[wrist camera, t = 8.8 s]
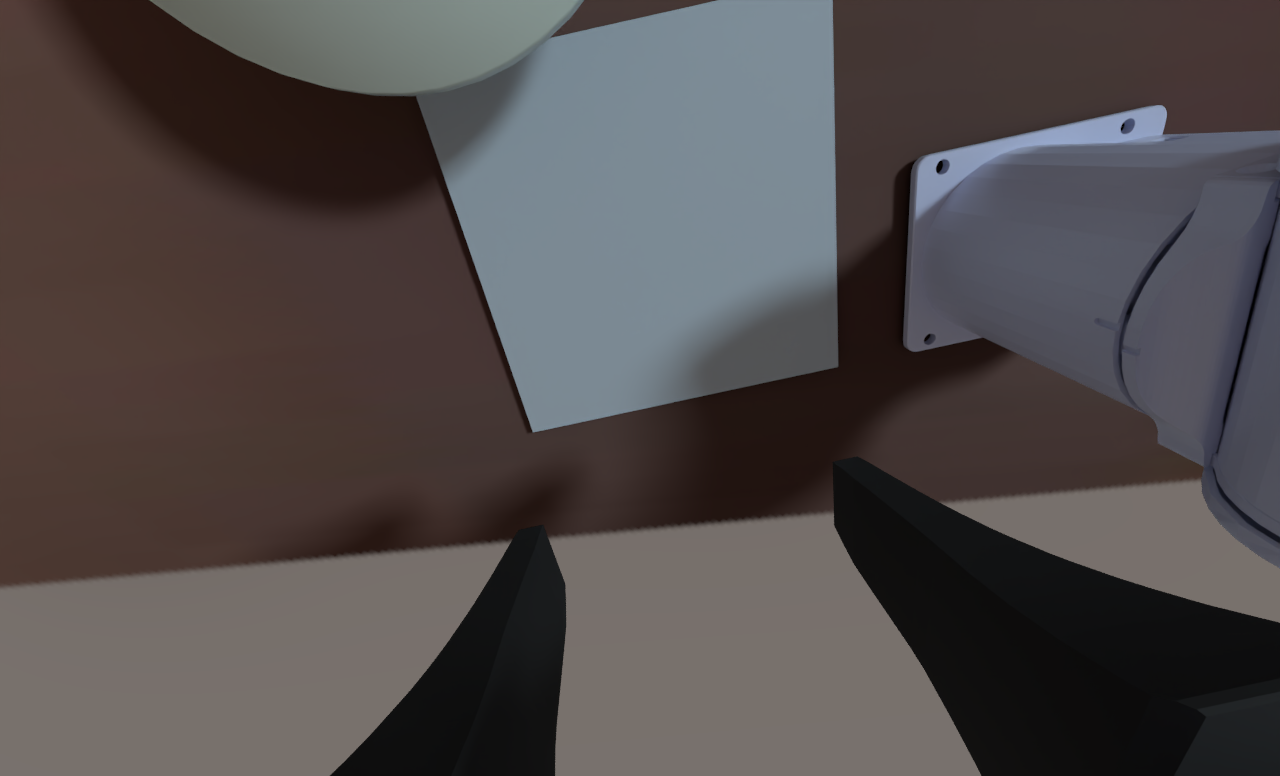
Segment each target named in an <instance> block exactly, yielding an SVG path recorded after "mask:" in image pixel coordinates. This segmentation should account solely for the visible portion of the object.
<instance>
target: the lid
mask: <svg viewBox="0 0 1280 776" xmlns="http://www.w3.org/2000/svg"><path fill="white" fill-rule="evenodd" d="M150 1H151V2H153V3H154V4H155V5H157V6H158V7H160V8H161V9H163V10H164V11H165V12H167V13H168V14H170V15H171V16H173V17H174V18H176V19H177V20H178V21H180V22H181V23H183V24H184V25H186V26H187V27H188V28H190V29H191V30H193V31H194V32H196V33H198V34H200V35H201V36H203V37H205V38H207V39H209V40H210V41H212V42H214V43H216V44H218V45H219V46H221V47H223V48H225V49H227V50H228V51H230V52H232V53H234V54H235V55H237V56H239V57H242V58H244V59H247V60H249V61H251V62H254V63H256V64H258V65H261V66H263V67H265V68H268V69H270V70H272V71H275V72H277V73H280V74H282V75H286V76H289V77H293V78H296V79H300V80H303V81H307V82H310V83H314V84H317V85H320V86H324V87H328V88H332V89H336V90H341V91H347V92H354V93H361V94H367V95H374V96H418V95H425V94H432V93H439V92H446V91H451V90H454V89H457V88H460V87H463V86H467V85H470V84H473V83H476V82H480V81H482V80H484V79H487V78H489V77H491V76H493V75H495V74H497V73H499V72H501V71H503V70H505V69H507V68H509V67H511V66H513V65H514V64H516V63H517V62H519V61H520V60H521V59H523V58H524V57H526V56H527V55H529V54H530V53H531V52H533V51H534V50H536V49H537V48H538V47H540V46H541V45H543V44H544V43H545V42H546V41H547V40H548V39H549V38H550V37H551V36H552V35H553V34H554V33H555V32H556V31H557V30H558V29H559V28H560V27H561V26H562V25H564V24H565V23H566V22H567V21H568V20H569V19H570V18H571V17H572V15H573V14H574V13H575V11H576V10H577V9H578V8H579V6H580V5H581V4H582V2H583V1H584V0H150Z"/></svg>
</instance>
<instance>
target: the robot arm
mask: <svg viewBox="0 0 1280 776" xmlns="http://www.w3.org/2000/svg"><path fill="white" fill-rule="evenodd" d="M1166 117H1167V111H1166V109H1165V108H1164V107H1163V106H1147V107H1143V108H1138V109H1134V110H1129V111H1125V112H1120V113H1115V114H1111V115H1106V116H1102V117H1097V118H1093V119H1088V120H1084V121H1079V122H1074V123H1070V124H1065V125H1061V126H1056V127H1052V128H1047V129H1043V130H1038V131H1033V132H1029V133H1024V134H1020V135H1015V136H1011V137H1006V138H1001V139H997V140H992V141H988V142H983V143H979V144H974V145H970V146H965V147H960V148H956V149H951V150H947V151H942V152H938V153H933V154H929V155H924V156H922V157H920V158H919V159H918V160H917V161H915V163H914V165H913V167H912V171H911V185H910V206H909V226H908V247H907V267H906V288H905V309H904V329H903V345H904V346H905V348H907V349H908V350H910V351H912V352H918V351H923V350H927V349H932V348H937V347H941V346H946V345H951V344H955V343H960V342H965V341H969V340H974V339H979V338H985V339H987V340H989V341H991V342H994V343H996V344H998V345H1000V346H1002V347H1004V348H1006V349H1008V350H1011V351H1013V352H1015V353H1017V354H1019V355H1021V356H1023V357H1025V358H1028V359H1030V360H1032V361H1034V362H1036V363H1038V364H1040V365H1042V366H1045V367H1047V368H1049V369H1051V370H1053V371H1055V372H1057V373H1059V374H1062V375H1064V376H1066V377H1068V378H1070V379H1072V380H1074V381H1076V382H1079V383H1081V384H1083V385H1085V386H1087V387H1089V388H1091V389H1093V390H1095V391H1098V392H1100V393H1102V394H1104V395H1106V396H1108V397H1110V398H1112V399H1115V400H1117V401H1119V402H1121V403H1123V404H1125V405H1127V406H1129V407H1132V408H1134V409H1136V410H1138V411H1140V412H1142V413H1144V414H1147V415H1149V416H1150V417H1151V418H1152V419H1153V420H1154V421H1155V423H1156V425H1157V429H1158V443H1159V444H1161V445H1163V446H1165V447H1167V448H1168V449H1170V450H1172V451H1174V452H1176V453H1178V454H1180V455H1182V456H1184V457H1186V458H1188V459H1190V460H1192V461H1194V462H1196V463H1198V464H1200V465H1202V466H1204V471H1203V475H1202V479H1201V482H1202V493H1203V496H1204V499H1205V501H1206V503H1207V506H1208V508H1209V510H1210V511H1211V512H1212V514H1213V515H1214V517H1215V518H1216V519H1217V521H1218V522H1219V523H1220V524H1221V525H1222V526H1223V527H1224V528H1225V529H1226V530H1227V531H1228V532H1229V533H1230V534H1231V535H1232V536H1233V537H1234V538H1236V539H1237V540H1238V541H1239V542H1241V543H1242V544H1243V545H1245V546H1246V547H1248V548H1249V549H1250V550H1252V551H1253V552H1254V553H1256V554H1257V555H1258V556H1260V557H1262V558H1263V559H1265V560H1267V561H1268V562H1270V563H1272V564H1273V565H1275V566H1277V567H1279V568H1280V131H1253V132H1225V133H1198V134H1170V135H1162V134H1163V130H1164V126H1165V122H1166ZM1123 123H1125V126H1124V128H1123V130H1122V131H1121V126H1122V124H1123ZM939 161H942V162H943V167H942V170H941V171H940V172H939V173H937V172H936V166H937V164H938V163H939ZM928 334H930V337H929V339H928V340H927V341H925V342H924V339H925V337H926V336H927V335H928ZM833 491H834V525H835V528H836V530H837V532H838V534H839V536H840V538H841V540H842V542H843V544H844V546H845V548H846V550H847V552H848V554H849V555H850V557H851V559H852V561H853V563H854V565H855V566H856V568H857V569H858V571H859V572H860V574H861V575H862V577H863V578H864V580H865V581H866V583H867V584H868V586H869V587H870V589H871V590H872V592H873V593H874V595H875V596H876V598H877V599H878V600H879V602H880V603H881V605H882V606H883V608H884V609H885V611H886V612H887V614H888V615H889V617H890V618H891V620H892V621H893V622H894V624H895V625H896V627H897V628H898V630H899V631H900V633H901V634H902V636H903V637H904V639H905V640H906V642H907V643H908V645H909V646H910V647H911V649H912V651H913V652H914V654H915V655H916V657H917V659H918V660H919V662H920V663H921V665H922V666H923V668H924V670H925V672H926V673H927V675H928V677H929V679H930V681H931V682H932V684H933V686H934V688H935V689H936V691H937V693H938V695H939V697H940V698H941V700H942V702H943V704H944V706H945V708H946V709H947V711H948V713H949V715H950V717H951V718H952V720H953V722H954V724H955V726H956V728H957V730H958V732H959V734H960V736H961V737H962V739H963V741H964V743H965V745H966V747H967V749H968V751H969V752H970V754H971V756H972V758H973V760H974V762H975V764H976V766H977V768H978V770H979V772H980V774H981V776H1280V623H1278V622H1275V621H1270V620H1266V619H1262V618H1258V617H1254V616H1250V615H1246V614H1242V613H1238V612H1234V611H1230V610H1226V609H1222V608H1218V607H1214V606H1210V605H1206V604H1203V603H1199V602H1196V601H1192V600H1188V599H1185V598H1182V597H1178V596H1175V595H1172V594H1168V593H1165V592H1162V591H1158V590H1155V589H1151V588H1148V587H1145V586H1142V585H1139V584H1135V583H1132V582H1129V581H1126V580H1123V579H1120V578H1116V577H1114V576H1110V575H1108V574H1105V573H1102V572H1099V571H1096V570H1093V569H1090V568H1088V567H1085V566H1082V565H1079V564H1077V563H1074V562H1071V561H1068V560H1065V559H1063V558H1060V557H1058V556H1055V555H1052V554H1050V553H1047V552H1045V551H1043V550H1040V549H1038V548H1035V547H1033V546H1031V545H1028V544H1026V543H1023V542H1021V541H1018V540H1016V539H1013V538H1011V537H1009V536H1007V535H1005V534H1002V533H1000V532H998V531H996V530H993V529H991V528H989V527H987V526H985V525H983V524H981V523H979V522H977V521H975V520H973V519H971V518H969V517H967V516H964V515H962V514H960V513H958V512H957V511H955V510H953V509H951V508H949V507H947V506H945V505H943V504H941V503H939V502H937V501H935V500H934V499H932V498H930V497H928V496H926V495H925V494H923V493H921V492H919V491H917V490H916V489H914V488H912V487H910V486H908V485H907V484H905V483H903V482H901V481H900V480H898V479H896V478H894V477H893V476H891V475H889V474H888V473H886V472H884V471H882V470H881V469H879V468H877V467H875V466H874V465H872V464H870V463H868V462H867V461H865V460H863V459H861V458H859V457H853V458H848V459H844V460H839V461H835V462H833ZM565 632H566V594H565V582H564V579H563V577H562V574H561V572H560V569H559V566H558V563H557V561H556V558H555V555H554V553H553V550H552V547H551V545H550V542H549V539H548V537H547V534H546V531H545V529H544V526H543V525H540V526H535V527H531V528H526V529H521V530H519V531H518V532H517V533H516V535H515V537H514V538H513V540H512V542H511V543H510V545H509V547H508V549H507V550H506V552H505V554H504V556H503V557H502V559H501V561H500V562H499V564H498V566H497V567H496V569H495V571H494V573H493V574H492V576H491V578H490V579H489V581H488V582H487V584H486V585H485V587H484V589H483V590H482V592H481V594H480V595H479V597H478V598H477V600H476V601H475V603H474V605H473V606H472V608H471V609H470V611H469V612H468V614H467V615H466V617H465V618H464V620H463V621H462V622H461V624H460V626H459V627H458V628H457V630H456V631H455V633H454V634H453V636H452V637H451V639H450V640H449V641H448V643H447V644H446V646H445V647H444V648H443V650H442V651H441V652H440V654H439V655H438V656H437V658H436V659H435V661H434V662H433V663H432V664H431V666H430V667H429V668H428V669H427V671H426V672H425V673H424V674H423V676H422V677H421V678H420V679H419V681H418V682H417V683H416V684H415V685H414V687H413V688H412V689H411V691H409V693H408V694H407V695H406V696H405V697H404V698H403V699H402V700H401V702H400V703H399V704H398V705H397V706H396V707H395V708H394V709H393V711H392V712H391V713H390V714H389V715H388V716H387V717H386V718H385V719H384V720H383V722H382V723H381V724H380V725H379V726H378V727H377V728H376V729H375V730H374V732H373V733H372V734H371V735H370V736H369V737H368V738H367V739H366V740H365V741H364V742H363V743H362V744H361V745H360V746H359V747H358V748H357V749H356V750H355V752H354V753H353V754H352V755H350V757H349V758H348V759H347V760H346V761H345V762H344V763H343V764H342V765H341V766H339V767H338V768H337V769H336V770H335V771H334V772H333V773H332V774H331V775H330V776H555V743H556V726H557V715H558V705H559V695H560V685H561V675H562V665H563V654H564V644H565Z"/></svg>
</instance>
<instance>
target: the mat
mask: <svg viewBox="0 0 1280 776" xmlns="http://www.w3.org/2000/svg"><path fill="white" fill-rule="evenodd" d="M416 98H417V101H418V104H419V106H420V109H421V112H422V115H423V118H424V121H425V124H426V127H427V129H428V132H429V135H430V138H431V141H432V144H433V147H434V150H435V152H436V155H437V158H438V161H439V164H440V167H441V170H442V173H443V175H444V178H445V181H446V184H447V187H448V190H449V193H450V196H451V198H452V201H453V204H454V207H455V210H456V213H457V216H458V219H459V221H460V224H461V227H462V230H463V233H464V236H465V239H466V242H467V244H468V247H469V250H470V253H471V256H472V259H473V262H474V264H475V267H476V270H477V273H478V276H479V279H480V282H481V285H482V287H483V290H484V293H485V296H486V299H487V302H488V305H489V308H490V310H491V313H492V316H493V319H494V322H495V325H496V328H497V331H498V333H499V336H500V339H501V342H502V345H503V348H504V351H505V354H506V356H507V359H508V362H509V365H510V368H511V371H512V374H513V377H514V379H515V382H516V385H517V388H518V391H519V394H520V397H521V400H522V402H523V405H524V408H525V411H526V414H527V417H528V420H529V423H530V425H531V428H532V431H533V432H538V431H542V430H547V429H552V428H556V427H561V426H565V425H570V424H575V423H579V422H584V421H589V420H593V419H598V418H603V417H607V416H612V415H617V414H621V413H626V412H631V411H635V410H640V409H645V408H649V407H654V406H659V405H663V404H668V403H673V402H677V401H682V400H687V399H691V398H696V397H701V396H705V395H710V394H715V393H719V392H724V391H729V390H733V389H738V388H743V387H747V386H752V385H757V384H761V383H766V382H771V381H775V380H780V379H784V378H789V377H794V376H798V375H803V374H808V373H812V372H817V371H822V370H826V369H831V368H836V367H838V316H837V253H836V189H835V125H834V61H833V0H718V1H713V2H709V3H705V4H700V5H696V6H691V7H687V8H682V9H678V10H673V11H669V12H664V13H660V14H656V15H651V16H647V17H642V18H638V19H633V20H629V21H624V22H620V23H615V24H611V25H606V26H602V27H598V28H593V29H589V30H584V31H580V32H575V33H571V34H566V35H562V36H557V37H553V38H549V39H548V40H547V41H546V42H545V43H544V44H543V45H541V46H540V47H538V48H537V49H536V50H534V51H533V52H531V53H530V54H529V55H527V56H526V57H524V58H523V59H521V60H520V61H519V62H517V63H516V64H514V65H513V66H511V67H509V68H507V69H505V70H503V71H501V72H499V73H497V74H495V75H493V76H491V77H489V78H487V79H484V80H482V81H480V82H476V83H473V84H470V85H467V86H463V87H460V88H457V89H454V90H451V91H446V92H439V93H432V94H425V95H418V96H416Z"/></svg>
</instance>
